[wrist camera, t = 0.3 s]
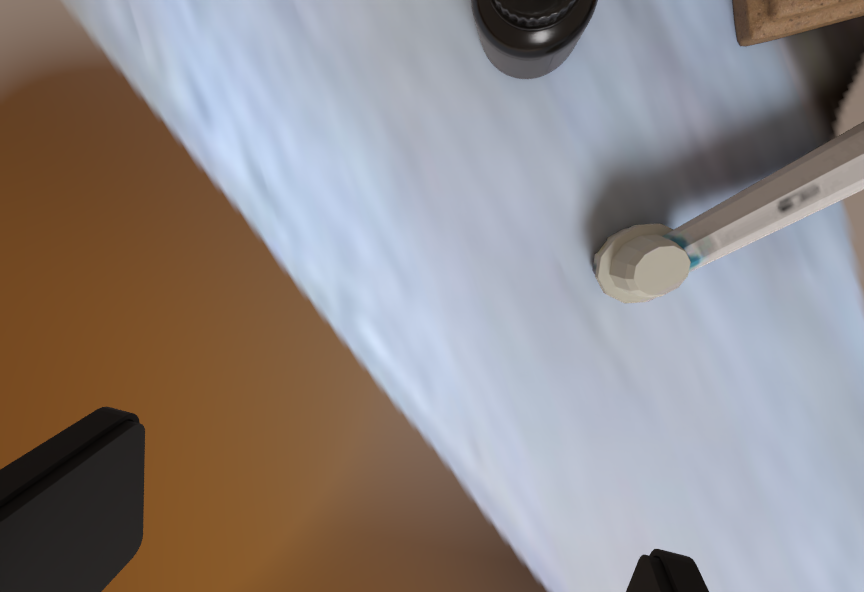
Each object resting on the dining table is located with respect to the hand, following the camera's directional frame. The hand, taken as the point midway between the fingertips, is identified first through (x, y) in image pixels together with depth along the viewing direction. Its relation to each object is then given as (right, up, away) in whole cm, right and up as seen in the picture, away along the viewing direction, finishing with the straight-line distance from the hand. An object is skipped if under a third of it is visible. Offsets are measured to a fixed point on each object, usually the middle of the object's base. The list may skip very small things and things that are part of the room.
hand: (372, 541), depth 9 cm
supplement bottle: (+8, +23, +25) cm, 35 cm away
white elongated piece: (+24, +12, +26) cm, 38 cm away
